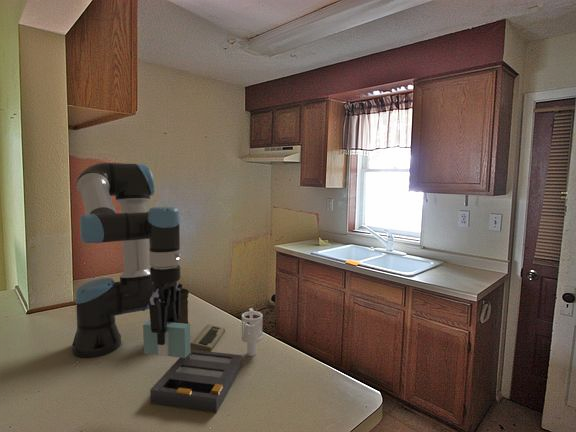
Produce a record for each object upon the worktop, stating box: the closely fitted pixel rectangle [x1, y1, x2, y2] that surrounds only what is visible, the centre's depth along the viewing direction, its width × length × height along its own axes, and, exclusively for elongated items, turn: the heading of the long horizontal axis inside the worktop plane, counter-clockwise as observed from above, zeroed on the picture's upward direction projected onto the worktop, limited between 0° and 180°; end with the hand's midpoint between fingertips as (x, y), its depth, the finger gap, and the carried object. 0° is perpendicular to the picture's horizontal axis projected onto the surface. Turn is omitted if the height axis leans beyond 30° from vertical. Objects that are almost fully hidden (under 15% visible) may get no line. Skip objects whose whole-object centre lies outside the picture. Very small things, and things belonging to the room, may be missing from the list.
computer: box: [190, 324, 226, 352], centre depth 129 cm, size 16×8×3 cm, turn 172°
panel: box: [142, 319, 191, 359], centre depth 93 cm, size 12×3×8 cm, turn 78°
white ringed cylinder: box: [241, 307, 264, 357], centre depth 120 cm, size 7×7×15 cm
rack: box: [149, 350, 243, 414], centre depth 102 cm, size 18×22×5 cm
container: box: [177, 288, 190, 324], centre depth 129 cm, size 9×9×18 cm
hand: (167, 351), depth 94 cm, fingers closed on panel, 3 cm apart
